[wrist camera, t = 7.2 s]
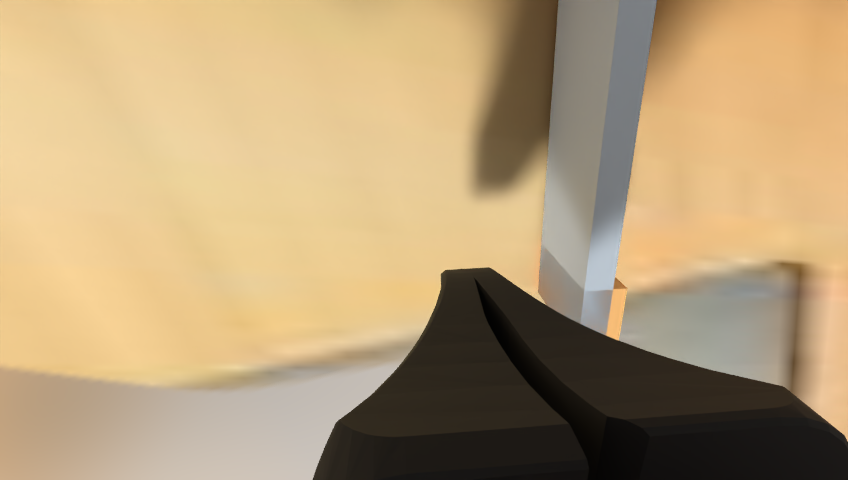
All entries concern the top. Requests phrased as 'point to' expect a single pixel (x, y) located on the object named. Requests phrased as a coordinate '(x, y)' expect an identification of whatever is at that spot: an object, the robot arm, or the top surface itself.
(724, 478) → the robot arm
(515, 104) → the top surface
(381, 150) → the top surface
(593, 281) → the side door
